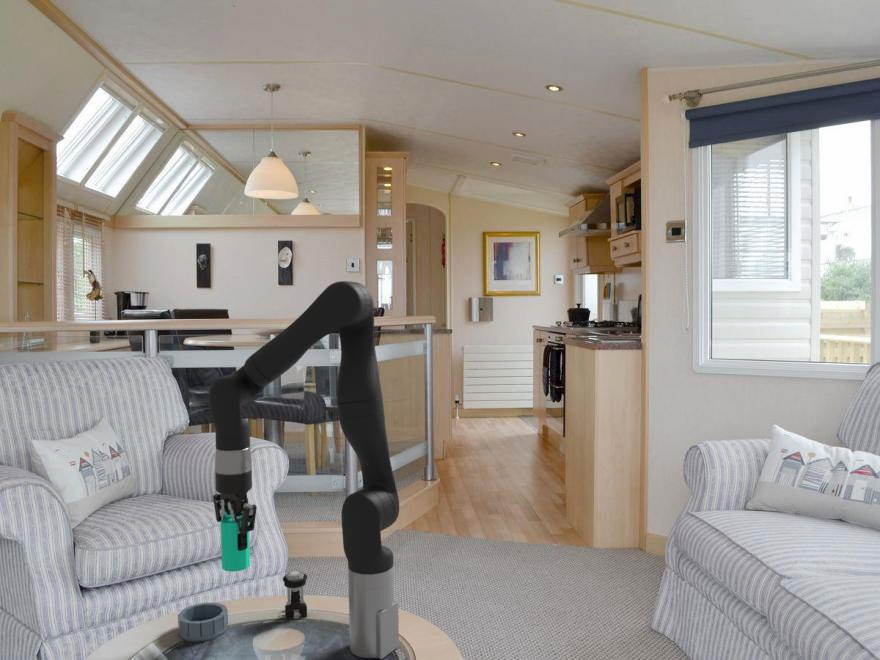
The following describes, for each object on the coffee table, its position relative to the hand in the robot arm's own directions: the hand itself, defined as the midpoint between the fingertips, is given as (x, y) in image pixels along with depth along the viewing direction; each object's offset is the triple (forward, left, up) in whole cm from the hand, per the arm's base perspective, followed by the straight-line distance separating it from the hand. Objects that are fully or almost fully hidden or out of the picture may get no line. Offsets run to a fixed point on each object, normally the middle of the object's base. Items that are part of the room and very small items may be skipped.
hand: (235, 546), depth 161 cm
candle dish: (+7, +4, -19) cm, 20 cm away
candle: (0, 0, -5) cm, 5 cm away
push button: (-5, -11, -19) cm, 23 cm away
